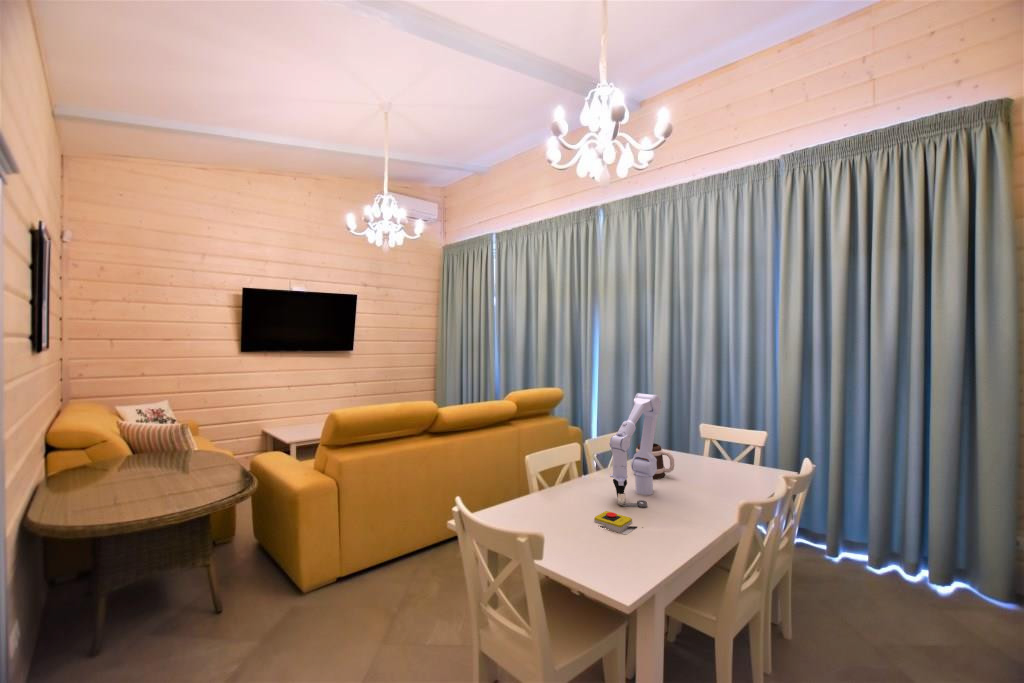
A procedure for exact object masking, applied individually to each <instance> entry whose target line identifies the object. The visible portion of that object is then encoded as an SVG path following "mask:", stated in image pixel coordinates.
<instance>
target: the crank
mask: <svg viewBox="0 0 1024 683" xmlns="http://www.w3.org/2000/svg"><path fill="white" fill-rule="evenodd" d="M626 496H627V495H626V493H625V492H624V493H618V497H617V504H618V506H622V507H629V508H634V507H635V508H640V509H646V508H647V507H648V502H647V501H646V500H640V499H639V500H637V501H636V502H627V500H626V498H627V497H626Z"/></svg>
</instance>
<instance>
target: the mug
mask: <svg viewBox="0 0 1024 683" xmlns="http://www.w3.org/2000/svg"><path fill="white" fill-rule="evenodd" d="M640 444H641V442H640V443H639V444H637V447H636V448H635V453H637V452H639V451H640ZM652 454H653V455H654V457H655V458H656V459H657V462H656V464H657V471H656V473H655V474H654V475H653V480H655V479H657V480H658V479H662V478H664V476H665V475H666V473H668V474H670V473H672V472H673V471H674V470H675V458H674V456H673V455H672V453H671V452H670V451H666V450H663V448H662V446H661V445H660V444H658V443H655V442H653V448H652ZM663 456H667V457H668V458H669V468H666V467H665V465H664V457H663ZM641 459H645V460H648V459H646V458H641Z"/></svg>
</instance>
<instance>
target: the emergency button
mask: <svg viewBox="0 0 1024 683" xmlns="http://www.w3.org/2000/svg"><path fill="white" fill-rule="evenodd" d="M593 522H595V523H597V524H600V525H599V526H600V527H599V528H602V527H603V528H602V529H605V528H606V529H605V530H608V529H609V530H608V531H611V530H612V531H611V532H614V531H615V533H617V532H618V534H620V533H621V535H624V536H627V535H628V533H629V534H630V533H632V532H633V531H635V530H637V529H638V526H632V525H631V524H633V518H632V517H629V516H626V515H622V514H619V513H617V512H612V511H608V510H605V511H603V512H601V513H600V514H598V515H596V516H594V520H593ZM630 525H631V526H630Z"/></svg>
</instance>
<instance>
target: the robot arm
mask: <svg viewBox="0 0 1024 683" xmlns="http://www.w3.org/2000/svg"><path fill="white" fill-rule="evenodd" d="M661 403H662V401H661V399H660V396H659V395H657V394H647V393H642V392H637V393H636V394H635V396H634V399H633V407H632V410H631V412H630V414H629V416H628V418H627V420H624V421H623V422H622V423H621V425H620V427H619V429H618V431H617V432H616V434H615V435H613V436H611V437H610V440H609V442H608V443H609V447H610V451H611V453H612V474H609V478H613V479H612V482H613V485H614V487H615V492H616V496H617V498H618V493H625V490H626V487H627V485H628V480H627V479H628V449H630V446H631V439H632V436H633V434H634V433H635V431H636V428H637V427H636V424H637V422H638V421H639V419H640V418H641V416H642V415H643V416H644V418H643V426H642V433H641V439H640V443H641V444H640V443H639V444H640V451H639V452H635V453H634V454H633V458H632V461H631V462H630V463H631V464H630V467H631V470H632V472H633V474H634V475H635V478H634V479H635V481H634V482H635V493H636V494H638V495H642V496H651V495H653V494H654V493H653V489H654V479H653V475H654V474H655V473H656V471H657V464H656V462H657V459H656V458H655V457H654V455H653V454H652V448H653V443H654V440H655V439H654V438H655V434H656V428H657V420H658V415H659V414H660V411H661V405H662V404H661ZM641 458H646V459H648V460H645V459H641Z"/></svg>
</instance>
